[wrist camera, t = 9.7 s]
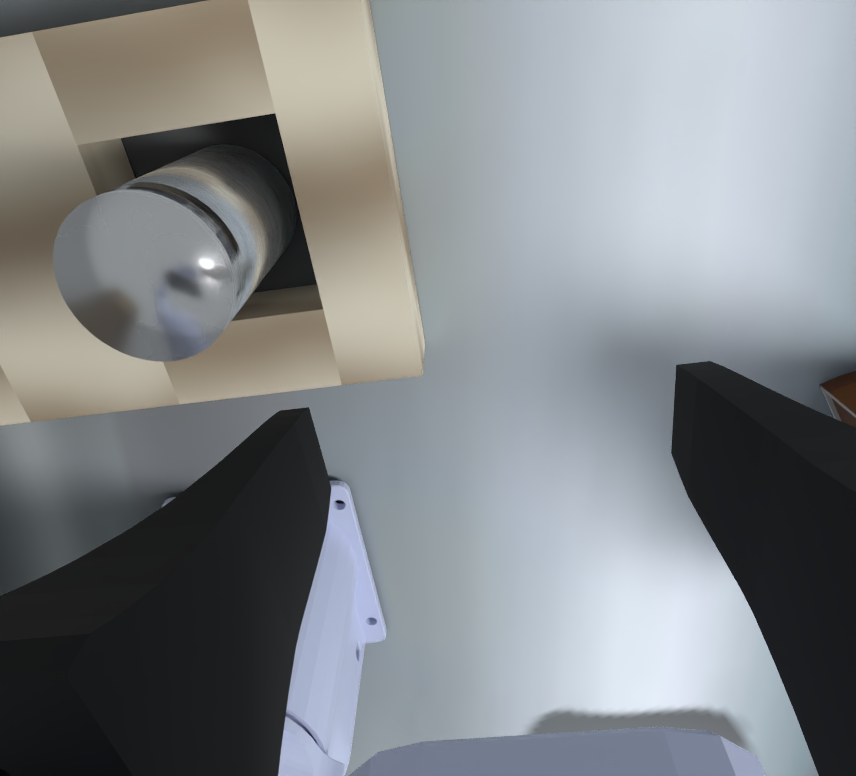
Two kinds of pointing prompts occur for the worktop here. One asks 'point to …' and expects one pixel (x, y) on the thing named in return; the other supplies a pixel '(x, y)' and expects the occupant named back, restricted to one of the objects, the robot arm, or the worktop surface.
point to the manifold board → (109, 168)
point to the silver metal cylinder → (174, 251)
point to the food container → (842, 397)
